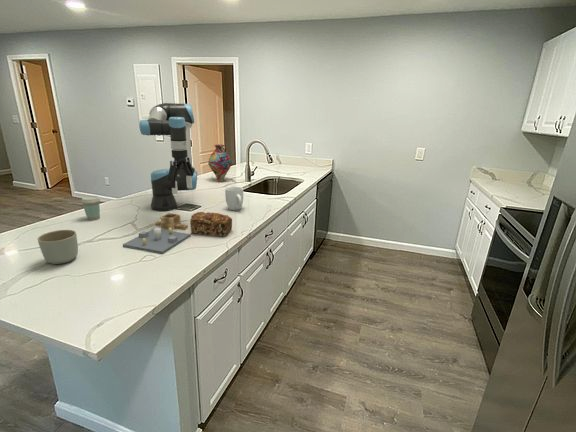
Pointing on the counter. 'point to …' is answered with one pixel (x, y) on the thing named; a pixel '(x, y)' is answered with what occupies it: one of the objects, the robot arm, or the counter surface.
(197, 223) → the bread
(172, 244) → the post base
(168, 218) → the wooden frame with handle
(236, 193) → the mug
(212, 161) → the vase
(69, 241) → the planter
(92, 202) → the coffee cup
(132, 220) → the counter surface
